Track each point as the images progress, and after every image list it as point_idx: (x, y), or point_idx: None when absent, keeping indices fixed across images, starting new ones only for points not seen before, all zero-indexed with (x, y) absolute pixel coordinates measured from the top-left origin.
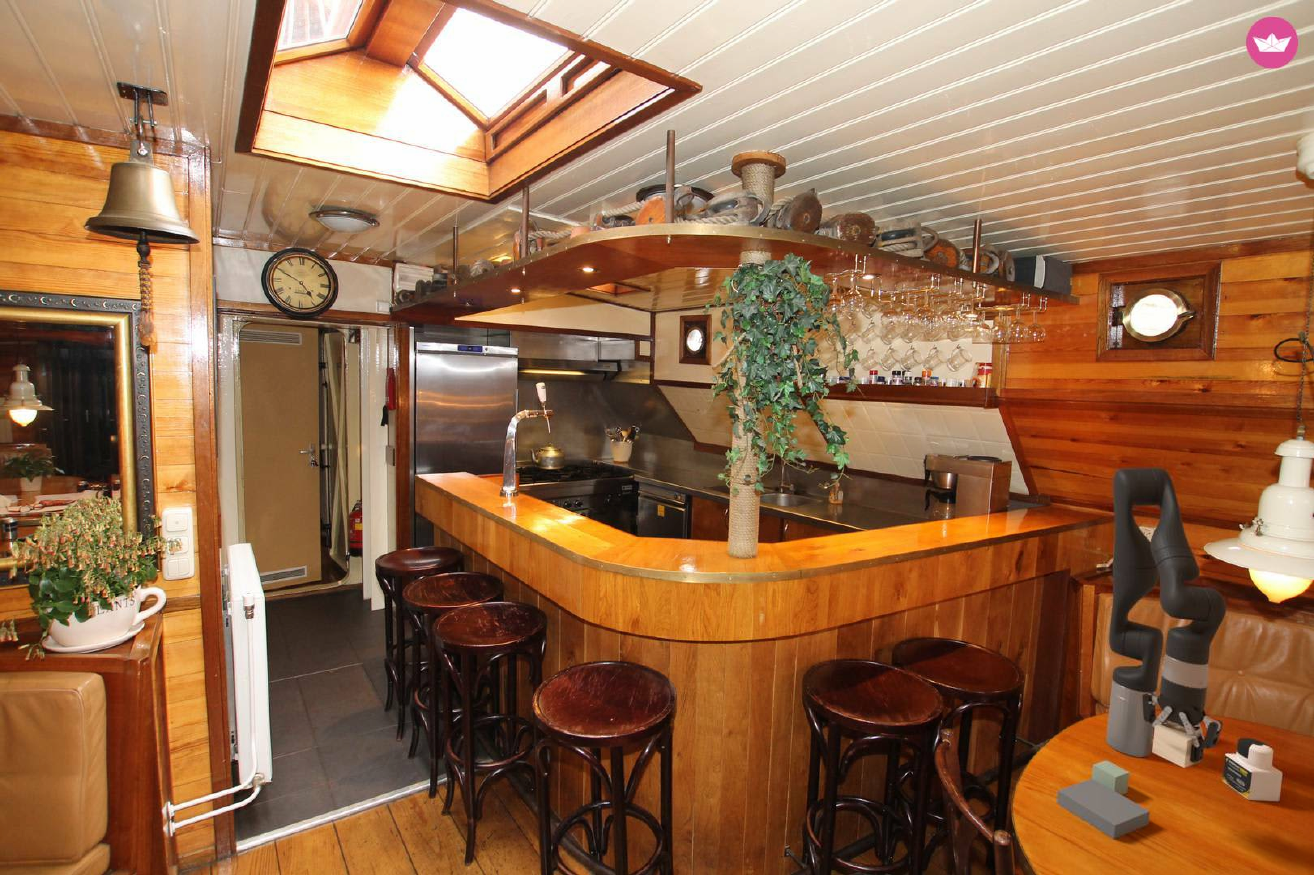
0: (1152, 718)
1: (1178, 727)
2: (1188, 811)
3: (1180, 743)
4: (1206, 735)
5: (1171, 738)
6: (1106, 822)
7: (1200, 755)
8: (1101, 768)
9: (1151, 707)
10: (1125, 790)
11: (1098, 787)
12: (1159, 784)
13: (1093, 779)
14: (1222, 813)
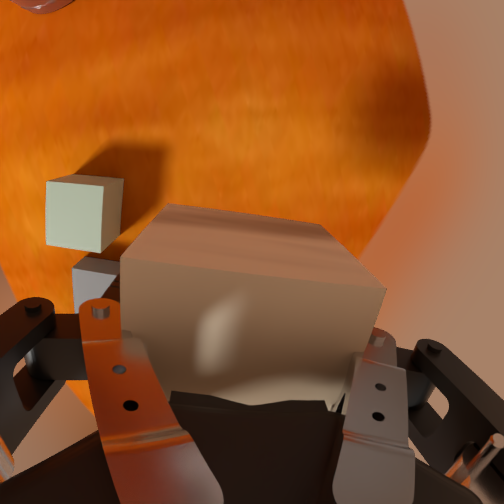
0: (62, 377)
1: (218, 339)
2: (243, 120)
3: None
4: (425, 455)
5: None
6: None
7: None
8: (63, 242)
9: (7, 415)
10: (120, 187)
11: (100, 296)
12: (154, 56)
13: (75, 269)
14: (294, 55)
